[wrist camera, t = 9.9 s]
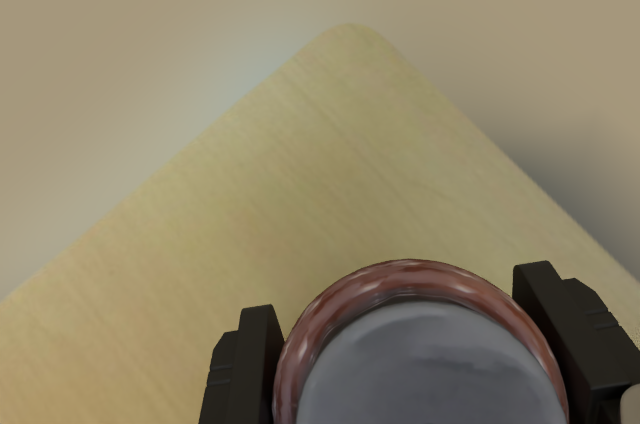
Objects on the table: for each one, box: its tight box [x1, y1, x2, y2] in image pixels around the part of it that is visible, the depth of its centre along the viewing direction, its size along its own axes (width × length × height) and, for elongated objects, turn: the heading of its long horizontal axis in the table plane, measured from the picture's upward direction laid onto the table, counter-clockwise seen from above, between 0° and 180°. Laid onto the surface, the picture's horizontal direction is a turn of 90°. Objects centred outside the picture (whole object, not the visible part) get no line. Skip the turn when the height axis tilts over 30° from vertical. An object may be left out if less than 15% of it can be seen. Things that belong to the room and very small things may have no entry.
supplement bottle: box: [271, 259, 569, 424], centre depth 13 cm, size 6×6×11 cm
